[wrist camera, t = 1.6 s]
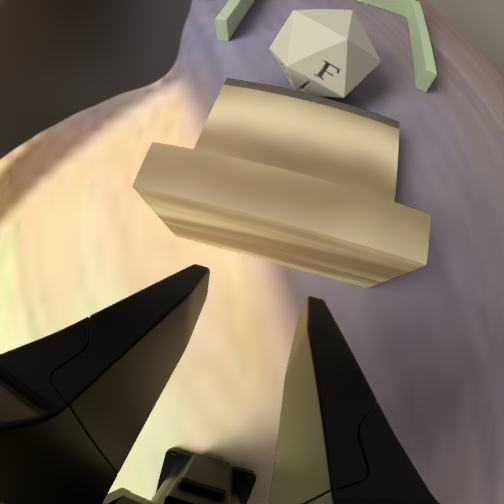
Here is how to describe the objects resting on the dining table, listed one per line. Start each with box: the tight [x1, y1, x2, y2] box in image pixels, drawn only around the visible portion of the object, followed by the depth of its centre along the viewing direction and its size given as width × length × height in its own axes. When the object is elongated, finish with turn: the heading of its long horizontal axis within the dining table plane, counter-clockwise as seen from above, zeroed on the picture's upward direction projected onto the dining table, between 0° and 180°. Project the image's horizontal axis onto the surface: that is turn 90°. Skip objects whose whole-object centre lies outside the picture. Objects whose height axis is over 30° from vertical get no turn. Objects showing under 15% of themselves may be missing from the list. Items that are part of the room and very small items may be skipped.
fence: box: [215, 0, 437, 92], centre depth 26 cm, size 18×22×3 cm
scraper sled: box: [133, 78, 431, 288], centre depth 18 cm, size 13×14×8 cm
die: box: [270, 10, 381, 98], centre depth 21 cm, size 8×9×10 cm
